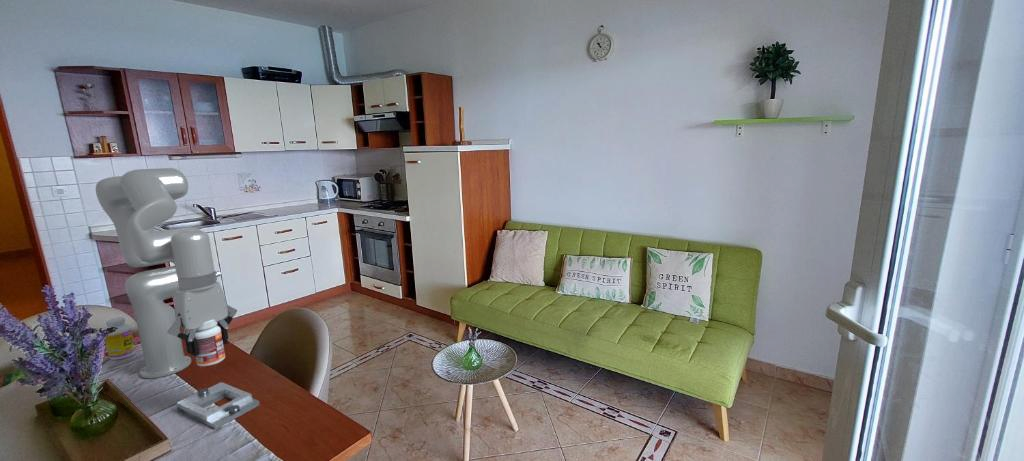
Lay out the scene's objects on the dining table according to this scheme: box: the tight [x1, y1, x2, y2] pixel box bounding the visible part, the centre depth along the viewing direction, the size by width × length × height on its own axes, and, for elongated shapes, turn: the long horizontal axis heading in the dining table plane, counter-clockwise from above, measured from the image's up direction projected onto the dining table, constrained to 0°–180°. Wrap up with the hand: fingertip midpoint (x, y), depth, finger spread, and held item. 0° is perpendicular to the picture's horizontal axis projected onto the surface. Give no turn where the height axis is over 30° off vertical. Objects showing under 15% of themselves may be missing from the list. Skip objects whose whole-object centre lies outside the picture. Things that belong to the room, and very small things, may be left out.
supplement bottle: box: [105, 316, 136, 361], centre depth 142 cm, size 7×7×13 cm
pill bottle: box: [194, 320, 226, 367], centre depth 109 cm, size 6×6×11 cm
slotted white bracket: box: [176, 381, 260, 430], centre depth 112 cm, size 17×11×3 cm, turn 62°
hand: (209, 348), depth 109 cm, fingers closed on pill bottle, 6 cm apart
